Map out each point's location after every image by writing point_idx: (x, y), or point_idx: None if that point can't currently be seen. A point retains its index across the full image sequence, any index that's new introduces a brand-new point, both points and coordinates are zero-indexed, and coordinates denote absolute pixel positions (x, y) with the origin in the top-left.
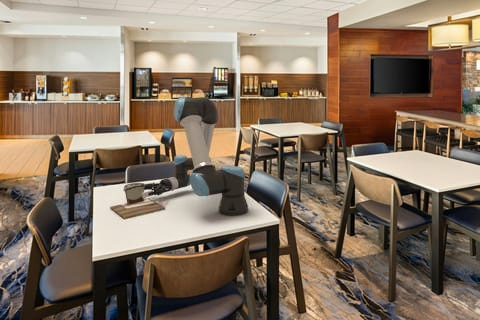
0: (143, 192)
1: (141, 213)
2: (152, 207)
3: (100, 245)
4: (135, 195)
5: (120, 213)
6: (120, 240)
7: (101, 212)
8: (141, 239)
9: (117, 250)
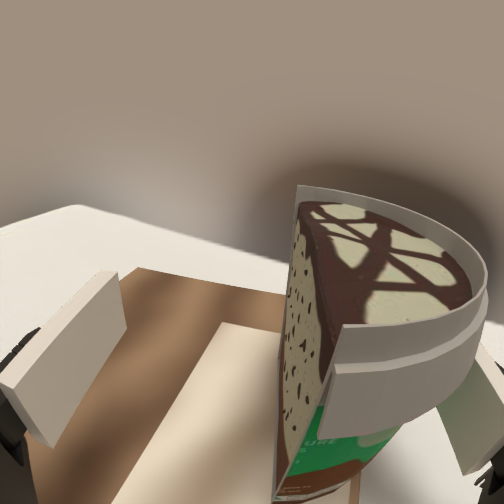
0: (106, 282)
1: None
2: None
3: (93, 211)
4: (289, 353)
5: (191, 280)
6: (60, 224)
7: None
8: (13, 235)
9: (49, 213)
